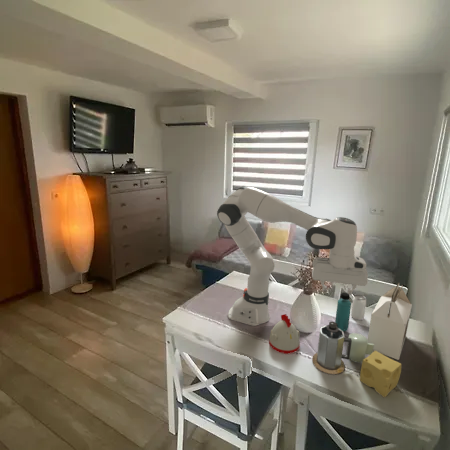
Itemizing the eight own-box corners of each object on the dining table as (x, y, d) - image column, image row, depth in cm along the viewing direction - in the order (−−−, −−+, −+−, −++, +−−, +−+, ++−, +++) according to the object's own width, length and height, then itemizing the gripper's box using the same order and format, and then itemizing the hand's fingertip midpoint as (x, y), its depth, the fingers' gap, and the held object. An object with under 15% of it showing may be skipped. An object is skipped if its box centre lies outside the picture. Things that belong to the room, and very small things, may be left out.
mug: (347, 360, 125) (350, 342, 123) (345, 349, 133) (347, 331, 130) (372, 365, 123) (376, 346, 121) (369, 353, 130) (372, 335, 128)
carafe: (312, 370, 119) (316, 338, 115) (311, 350, 131) (315, 320, 127) (349, 378, 115) (354, 345, 112) (345, 356, 128) (349, 326, 124)
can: (351, 319, 156) (354, 299, 153) (350, 313, 162) (353, 293, 159) (364, 321, 154) (367, 301, 151) (363, 315, 160) (366, 295, 157)
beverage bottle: (349, 334, 143) (354, 297, 138) (335, 332, 144) (339, 296, 139) (346, 327, 149) (351, 291, 144) (333, 325, 151) (337, 290, 146)
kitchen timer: (277, 356, 127) (279, 326, 124) (264, 337, 140) (265, 309, 136) (305, 350, 131) (308, 321, 127) (290, 332, 144) (292, 305, 140)
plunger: (321, 354, 119) (324, 327, 116) (320, 343, 126) (323, 317, 123) (339, 358, 118) (343, 330, 114) (337, 346, 124) (341, 320, 121)
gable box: (398, 360, 126) (409, 302, 119) (365, 348, 134) (374, 292, 127) (405, 336, 143) (416, 284, 136) (376, 326, 151) (384, 276, 144)
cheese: (385, 398, 106) (389, 375, 104) (357, 380, 115) (360, 358, 112) (398, 385, 112) (402, 363, 110) (371, 369, 121) (374, 348, 118)
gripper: (313, 259, 112) (309, 292, 115) (371, 265, 107) (365, 299, 110) (312, 253, 117) (309, 285, 121) (367, 259, 112) (362, 292, 116)
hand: (336, 292), depth 115 cm, fingers open, 8 cm apart
